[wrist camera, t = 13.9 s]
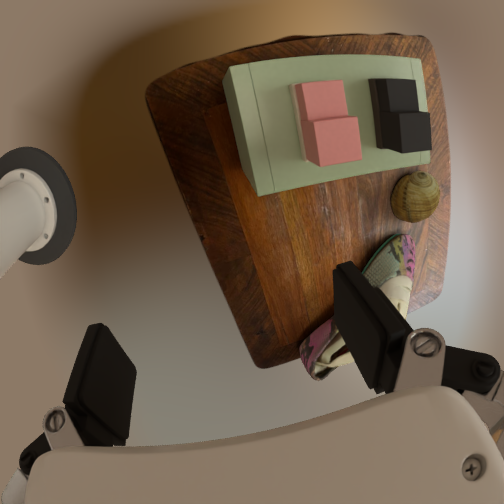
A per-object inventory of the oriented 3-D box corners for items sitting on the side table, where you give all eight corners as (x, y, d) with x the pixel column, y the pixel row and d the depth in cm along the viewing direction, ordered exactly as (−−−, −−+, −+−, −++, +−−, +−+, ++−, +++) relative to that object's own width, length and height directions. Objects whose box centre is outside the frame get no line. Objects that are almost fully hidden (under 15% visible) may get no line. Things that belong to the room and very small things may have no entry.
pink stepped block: (342, 153, 25) (363, 162, 21) (302, 160, 25) (319, 170, 21) (330, 80, 21) (352, 77, 18) (288, 84, 21) (304, 80, 17)
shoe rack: (242, 169, 36) (258, 197, 26) (221, 81, 30) (228, 66, 20) (377, 145, 37) (430, 163, 26) (366, 65, 31) (420, 58, 20)
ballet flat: (420, 248, 47) (456, 279, 38) (319, 358, 57) (336, 399, 47) (392, 219, 43) (432, 250, 34) (282, 345, 52) (296, 390, 43)
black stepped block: (406, 144, 25) (432, 152, 21) (376, 147, 25) (401, 156, 21) (399, 79, 21) (426, 78, 18) (367, 78, 21) (392, 77, 18)
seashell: (398, 205, 47) (439, 214, 42) (388, 230, 43) (432, 240, 38) (396, 158, 40) (442, 165, 35) (386, 179, 37) (438, 189, 32)
